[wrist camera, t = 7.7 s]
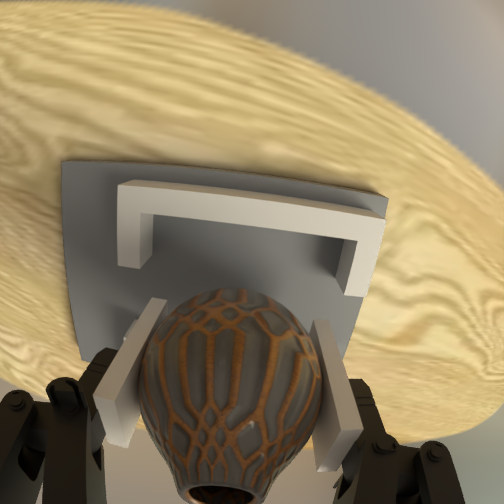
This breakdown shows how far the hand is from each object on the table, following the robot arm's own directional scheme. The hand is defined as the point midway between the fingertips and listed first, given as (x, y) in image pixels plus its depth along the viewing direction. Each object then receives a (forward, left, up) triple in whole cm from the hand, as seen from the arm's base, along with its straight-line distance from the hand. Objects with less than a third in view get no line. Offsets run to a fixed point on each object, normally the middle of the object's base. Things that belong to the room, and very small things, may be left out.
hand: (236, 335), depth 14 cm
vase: (0, 0, -1) cm, 1 cm away
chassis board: (-2, 0, -4) cm, 5 cm away
